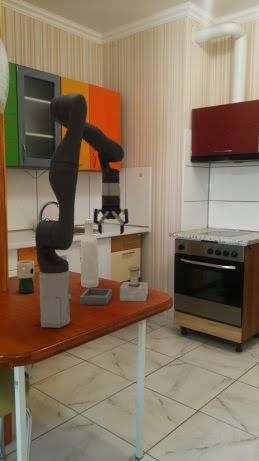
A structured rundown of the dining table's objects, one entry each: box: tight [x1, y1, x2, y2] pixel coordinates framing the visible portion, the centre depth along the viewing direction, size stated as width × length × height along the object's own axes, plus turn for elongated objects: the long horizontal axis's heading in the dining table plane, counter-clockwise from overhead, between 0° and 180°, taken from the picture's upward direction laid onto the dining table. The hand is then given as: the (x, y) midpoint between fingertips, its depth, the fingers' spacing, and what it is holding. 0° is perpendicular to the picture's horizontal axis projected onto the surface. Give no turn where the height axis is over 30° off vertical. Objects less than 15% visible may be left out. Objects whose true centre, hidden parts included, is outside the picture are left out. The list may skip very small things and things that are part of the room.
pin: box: [128, 266, 141, 287], centre depth 149 cm, size 4×4×12 cm
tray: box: [79, 288, 113, 306], centre depth 145 cm, size 12×10×3 cm
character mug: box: [16, 260, 36, 294], centre depth 157 cm, size 11×7×13 cm, turn 5°
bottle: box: [79, 218, 100, 289], centre depth 167 cm, size 8×8×30 cm
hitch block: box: [119, 281, 149, 302], centre depth 149 cm, size 10×10×5 cm
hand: (111, 234), depth 154 cm, fingers open, 8 cm apart
